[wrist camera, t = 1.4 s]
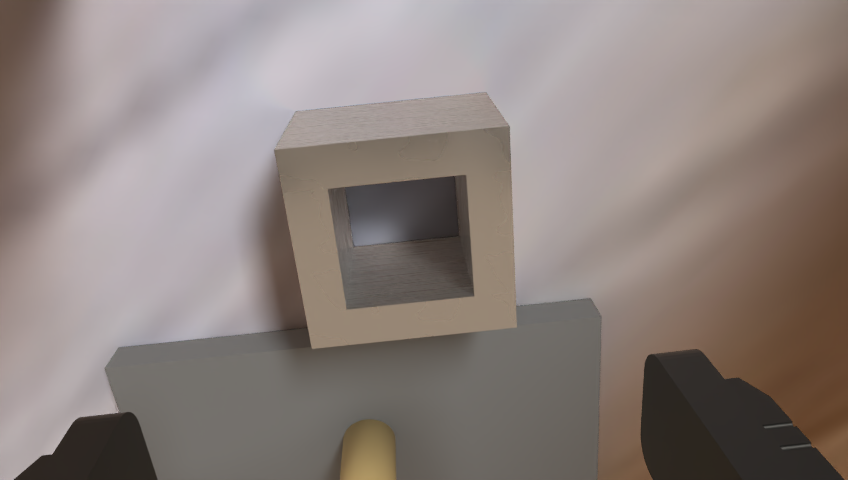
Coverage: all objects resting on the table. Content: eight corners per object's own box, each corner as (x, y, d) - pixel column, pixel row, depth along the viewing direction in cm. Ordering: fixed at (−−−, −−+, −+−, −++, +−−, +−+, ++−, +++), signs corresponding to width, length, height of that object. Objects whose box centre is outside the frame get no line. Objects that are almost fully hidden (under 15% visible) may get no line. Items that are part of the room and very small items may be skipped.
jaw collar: (486, 92, 19) (509, 125, 16) (494, 263, 22) (516, 327, 18) (295, 111, 19) (274, 149, 16) (324, 280, 21) (311, 348, 18)
